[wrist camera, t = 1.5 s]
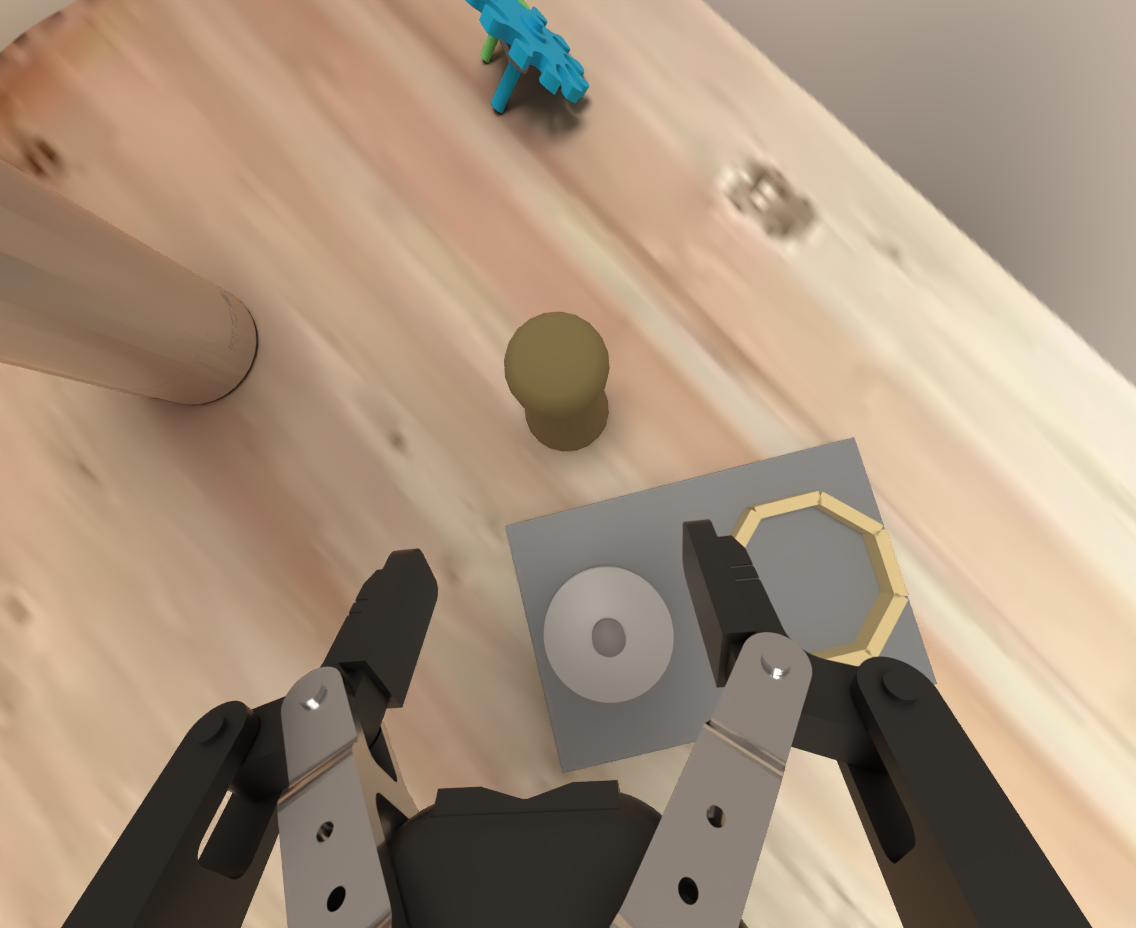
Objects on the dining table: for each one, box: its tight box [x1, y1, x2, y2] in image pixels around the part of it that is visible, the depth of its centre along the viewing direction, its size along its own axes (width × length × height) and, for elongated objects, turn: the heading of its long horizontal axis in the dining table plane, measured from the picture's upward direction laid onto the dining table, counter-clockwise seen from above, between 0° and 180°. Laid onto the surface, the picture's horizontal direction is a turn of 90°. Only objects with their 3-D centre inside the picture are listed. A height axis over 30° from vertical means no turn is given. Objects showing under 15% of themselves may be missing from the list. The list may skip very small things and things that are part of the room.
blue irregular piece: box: [466, 0, 589, 113], centre depth 30 cm, size 11×6×10 cm
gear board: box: [505, 438, 937, 773], centre depth 26 cm, size 24×16×4 cm, turn 104°
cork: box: [504, 312, 609, 451], centre depth 24 cm, size 6×6×11 cm
